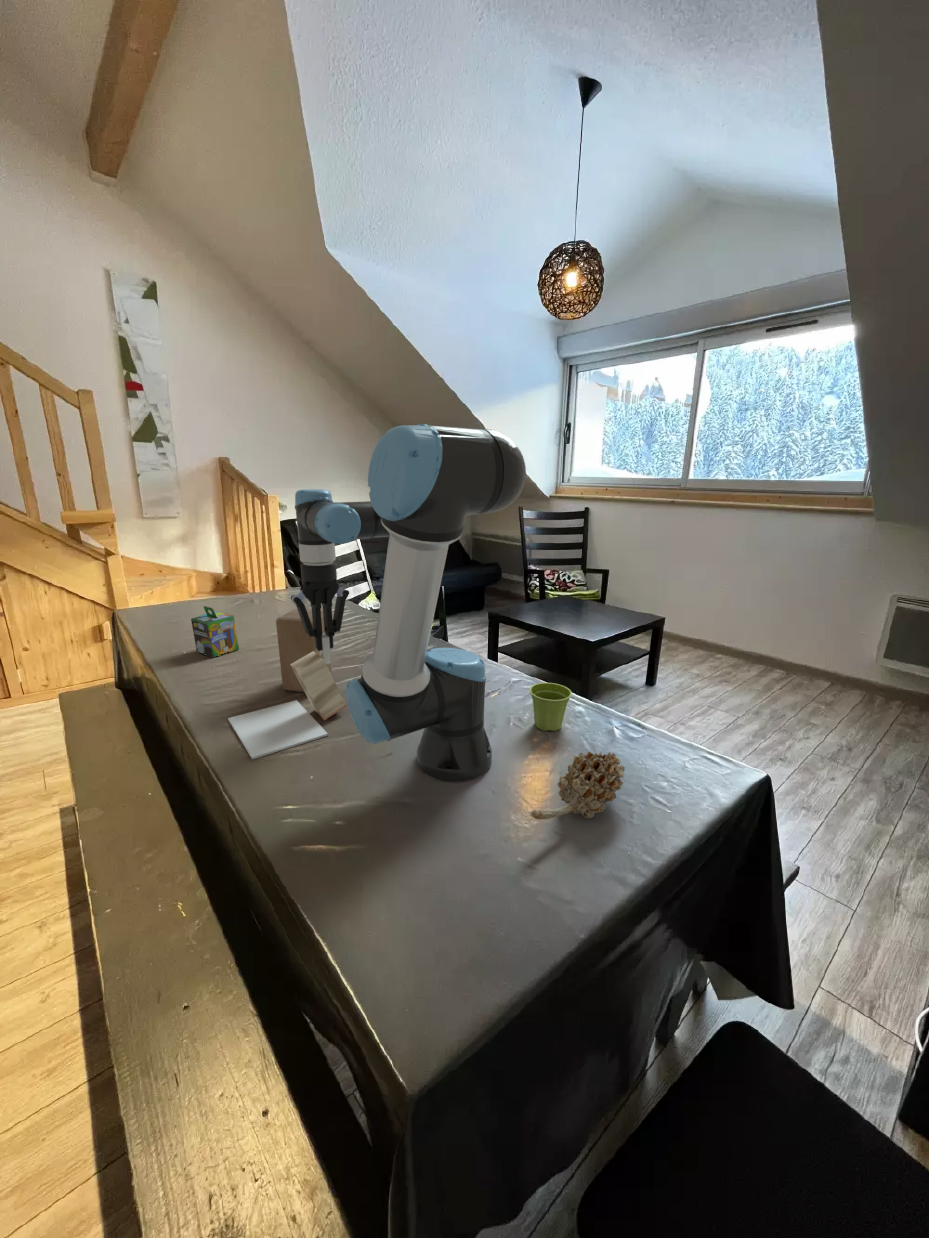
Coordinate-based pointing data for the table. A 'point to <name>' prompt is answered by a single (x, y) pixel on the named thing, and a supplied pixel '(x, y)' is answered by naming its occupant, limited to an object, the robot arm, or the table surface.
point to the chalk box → (214, 633)
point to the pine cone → (587, 785)
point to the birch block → (318, 685)
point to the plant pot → (549, 705)
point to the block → (294, 646)
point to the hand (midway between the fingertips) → (325, 662)
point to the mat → (276, 728)
